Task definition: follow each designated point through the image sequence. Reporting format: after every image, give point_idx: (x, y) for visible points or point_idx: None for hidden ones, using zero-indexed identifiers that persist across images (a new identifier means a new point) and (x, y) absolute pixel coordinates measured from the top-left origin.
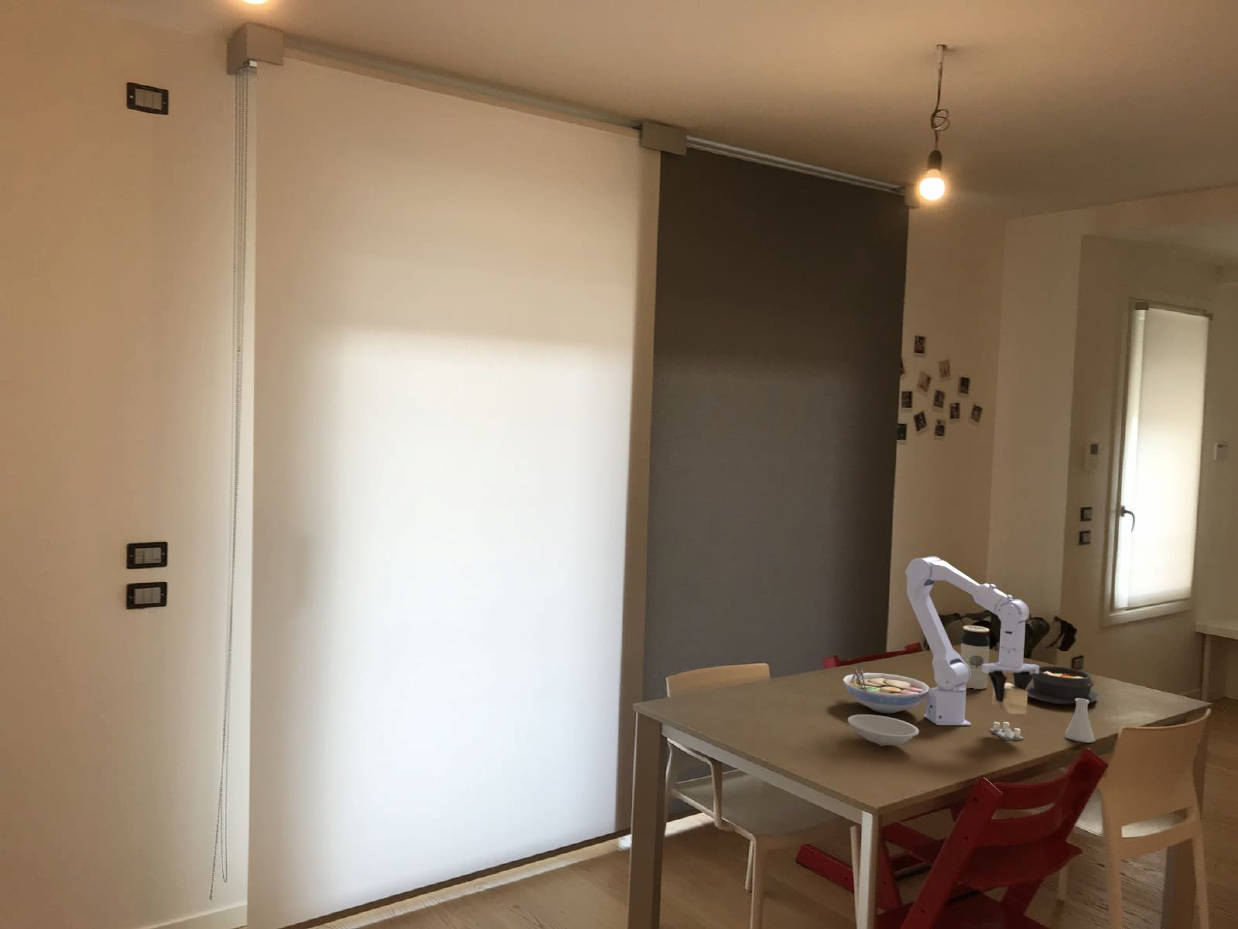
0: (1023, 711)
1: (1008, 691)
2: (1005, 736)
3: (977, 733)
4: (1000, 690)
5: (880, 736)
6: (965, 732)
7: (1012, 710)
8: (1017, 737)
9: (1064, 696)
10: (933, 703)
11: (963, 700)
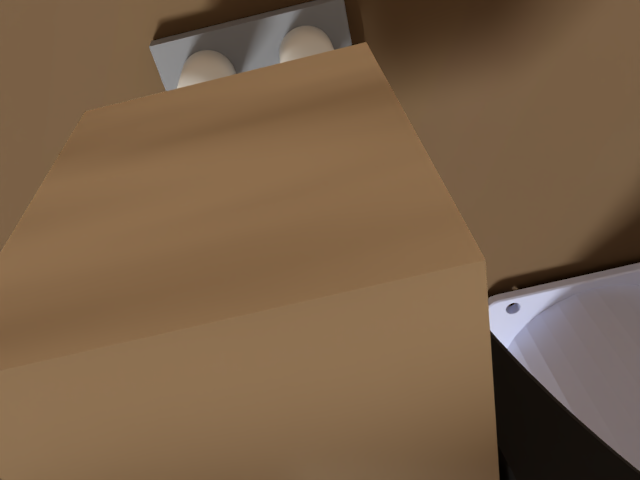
0: (127, 114)
1: (484, 357)
2: (329, 38)
3: (517, 138)
4: (581, 432)
5: None
6: (609, 139)
7: (330, 70)
8: (210, 49)
9: None
10: None
11: (631, 451)
